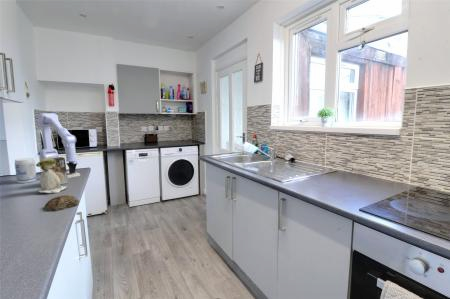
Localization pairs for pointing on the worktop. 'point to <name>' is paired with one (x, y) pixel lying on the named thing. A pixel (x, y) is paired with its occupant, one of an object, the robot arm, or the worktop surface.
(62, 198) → the bread roll
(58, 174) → the coffee box
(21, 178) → the supplement tub
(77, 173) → the panel
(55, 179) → the off-white lumpy piece
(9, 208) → the worktop surface
